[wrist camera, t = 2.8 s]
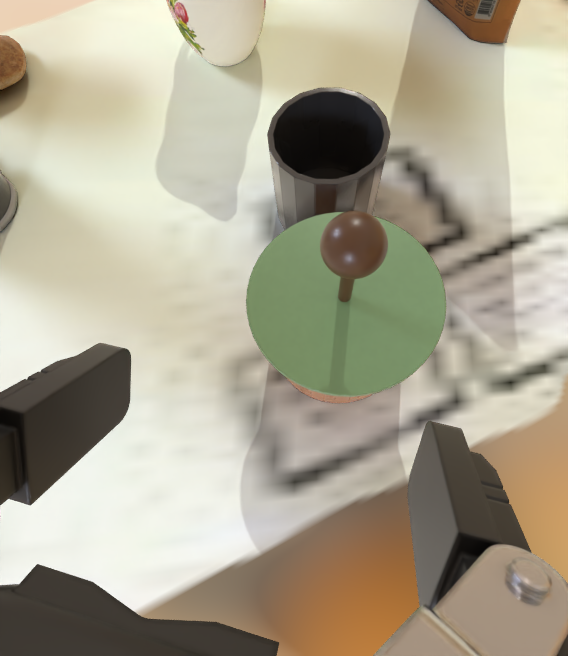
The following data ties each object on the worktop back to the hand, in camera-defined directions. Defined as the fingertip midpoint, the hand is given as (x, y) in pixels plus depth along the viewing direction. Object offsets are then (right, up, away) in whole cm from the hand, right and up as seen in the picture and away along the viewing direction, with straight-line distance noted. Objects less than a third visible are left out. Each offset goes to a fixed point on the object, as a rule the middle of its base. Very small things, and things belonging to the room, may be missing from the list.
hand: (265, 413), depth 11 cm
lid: (+5, +4, +19) cm, 20 cm away
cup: (+5, +15, +32) cm, 36 cm away
